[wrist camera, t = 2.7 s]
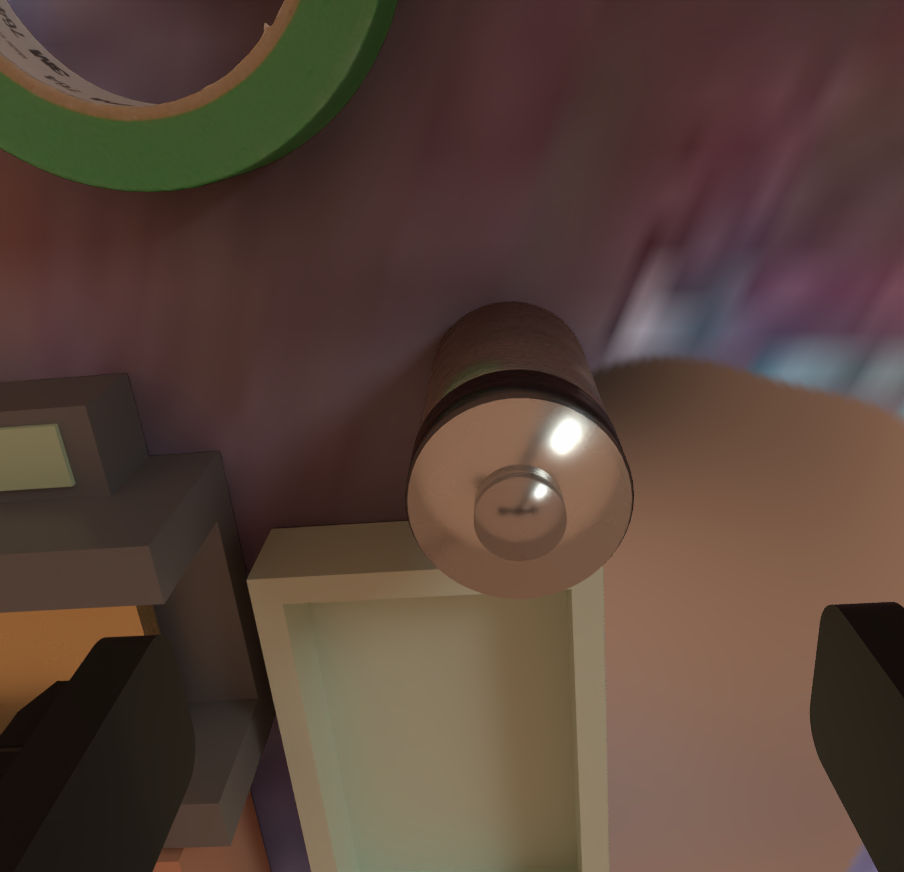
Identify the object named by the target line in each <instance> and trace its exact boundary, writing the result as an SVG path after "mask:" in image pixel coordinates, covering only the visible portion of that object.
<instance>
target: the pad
mask: <svg viewBox="0 0 904 872" xmlns="http://www.w3.org/2000/svg"><path fill="white" fill-rule="evenodd" d="M144 635H161V633H160V630H159V626H158V623H157V619H156V615H155V612H154V608H153V605H137V606H119V607H100V608H81V609H63V610H44V611H25V612H6V613H0V735H1V734H2V732H3V731H4V730H5V728H6V727H7V726H8V724H9V723H10V722H11V720H12V719H13V718H14V716H15V715H16V714H17V712H18V711H19V710H21V709H22V708H23V707H24V706H26V705H27V704H28V703H30V702H31V701H32V700H33V699H35V698H36V697H37V696H38V695H40V694H41V693H42V692H44V691H45V690H46V689H47V688H49V687H50V686H51V685H52V684H54V683H55V682H56V681H69V680H70V679H71V677H72V676H73V675H74V673H75V672H76V670H77V669H78V667H79V666H80V665H81V663H82V662H83V660H84V659H85V657H86V656H87V655H88V653H89V652H90V650H91V649H92V647H93V646H94V645H95V644H96V642H97V641H99V640H100V639H102V638H104V637H123V636H144Z"/></svg>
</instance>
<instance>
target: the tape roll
mask: <svg viewBox="0 0 904 872" xmlns="http://www.w3.org/2000/svg"><path fill="white" fill-rule="evenodd" d="M397 2H398V0H284V2H283V4H282V6H281V8H280V10H279V12H278V14H277V17H276V19H275V21H274V23H273V25H271V26H269V25H268V24H267V23H265V24H264V33H263V36H262V37H261V39H260V40H259V42H258V43H257V44H256V45H255V47H254V48H253V49H252V50H251V52H250V53H249V54H248V55H247V56H246V57H245V58H244V59H243V60H242V61H241V62H240V63H239V64H238V65H237V66H236V67H235V68H234V69H233V70H232V71H231V72H230V73H228V74H227V75H226V76H224V77H223V78H221V79H220V80H218V81H217V82H215V83H213V84H211V85H208V86H206V87H205V88H204V89H202V90H201V91H200V92H197V93H194V94H192V95H189V96H187V97H184V98H181V99H179V100H176V101H172V102H167V103H162V104H159V105H158V104H152V103H146V102H141V101H136V100H132V99H128V98H125V97H122V96H119V95H116V94H113V93H110V92H108V91H106V90H104V89H102V88H99V87H97V86H95V85H93V84H92V83H90V82H88V81H86V80H85V79H83V78H81V77H80V76H78V75H77V74H75V73H74V72H72V71H71V70H70V69H68V68H67V67H66V66H64V65H63V64H62V63H61V62H60V61H58V60H57V59H56V58H55V57H53V56H52V55H51V54H50V53H49V52H48V51H47V50H46V49H45V48H44V47H43V46H42V45H41V44H40V43H39V42H38V41H37V40H36V39H35V38H34V37H33V35H32V34H31V33H30V32H29V31H28V30H27V28H26V27H25V26H24V25H23V23H22V22H21V21H20V20H19V18H18V17H17V16H16V14H15V13H14V12H13V10H12V8H11V7H10V5H9V3H8V2H7V0H0V148H1V149H2V150H4V151H6V152H7V153H9V154H11V155H13V156H15V157H17V158H18V159H20V160H22V161H24V162H27V163H29V164H31V165H33V166H34V167H37V168H39V169H42V170H44V171H46V172H49V173H51V174H54V175H56V176H59V177H62V178H65V179H68V180H71V181H75V182H78V183H82V184H86V185H90V186H95V187H101V188H107V189H113V190H120V191H137V192H160V191H174V190H182V189H188V188H195V187H199V186H203V185H207V184H210V183H214V182H217V181H221V180H224V179H227V178H231V177H234V176H237V175H240V174H244V173H247V172H250V171H252V170H255V169H257V168H260V167H262V166H265V165H267V164H269V163H271V162H273V161H275V160H277V159H279V158H281V157H283V156H285V155H287V154H288V153H290V152H292V151H293V150H295V149H296V148H298V147H299V146H301V145H302V144H304V143H305V142H306V141H308V140H309V139H310V138H312V137H313V136H314V135H315V134H317V133H318V132H319V131H320V130H321V129H322V128H324V127H325V126H326V125H327V124H328V123H329V122H330V121H331V120H332V119H333V118H334V117H335V116H336V115H337V114H338V113H339V112H340V110H341V109H342V108H343V107H344V106H345V105H346V104H347V102H348V101H349V100H350V98H351V97H352V96H353V95H354V93H355V92H356V91H357V89H358V88H359V87H360V85H361V83H362V82H363V80H364V79H365V77H366V75H367V74H368V72H369V70H370V69H371V67H372V65H373V63H374V61H375V59H376V58H377V55H378V53H379V51H380V49H381V47H382V44H383V42H384V40H385V38H386V35H387V33H388V30H389V27H390V25H391V22H392V19H393V16H394V12H395V9H396V5H397Z"/></svg>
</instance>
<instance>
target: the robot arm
mask: <svg viewBox="0 0 904 872" xmlns="http://www.w3.org/2000/svg"><path fill="white" fill-rule="evenodd" d="M810 723H811V731H812V736H813V740H814V744H815V748H816V751H817V754H818V756H819V759H820V761H821V763H822V765H823V767H824V769H825V771H826V773H827V775H828V777H829V779H830V781H831V782H832V784H833V786H834V788H835V790H836V792H837V794H838V796H839V798H840V800H841V802H842V803H843V805H844V807H845V809H846V811H847V813H848V815H849V817H850V819H851V821H852V822H853V824H854V826H855V828H856V830H857V832H858V834H859V836H860V838H861V840H862V842H863V843H864V845H865V847H866V849H867V851H868V853H869V855H870V857H871V859H872V861H873V863H874V864H875V866H876V868H877V870H878V872H904V608H903V607H902V606H901V605H899V604H898V603H895V602H881V603H861V604H839V605H828V606H827V607H826V608H825V609H824V611H823V613H822V616H821V621H820V627H819V636H818V644H817V652H816V660H815V669H814V677H813V686H812V694H811V703H810ZM195 747H196V745H195V732H194V727H193V723H192V719H191V715H190V711H189V707H188V704H187V700H186V696H185V692H184V688H183V684H182V680H181V676H180V672H179V668H178V664H177V660H176V656H175V652H174V649H173V646H172V643H171V641H170V640H169V638H168V637H166V636H165V635H144V636H123V637H104V638H102V639H100V640H99V641H97V642H96V644H95V645H94V646H93V647H92V649H91V650H90V652H89V653H88V655H87V656H86V657H85V659H84V660H83V662H82V663H81V665H80V666H79V667H78V669H77V670H76V672H75V673H74V675H73V676H72V677H71V679H70V680H69V681H56V682H55V683H54V684H52V685H51V686H50V687H49V688H47V689H46V690H45V691H44V692H42V693H41V694H40V695H38V696H37V697H36V698H35V699H33V700H32V701H31V702H30V703H28V704H27V705H26V706H24V707H23V708H22V709H21V710H19V711H18V712H17V714H16V715H15V716H14V718H13V719H12V720H11V722H10V723H9V724H8V726H7V727H6V728H5V730H4V731H3V732H2V734H1V735H0V872H153V870H154V867H155V865H156V862H157V860H158V858H159V855H160V853H161V850H162V848H163V846H164V843H165V841H166V839H167V836H168V834H169V831H170V829H171V827H172V824H173V822H174V819H175V817H176V815H177V812H178V810H179V808H180V805H181V803H182V800H183V798H184V796H185V793H186V791H187V788H188V786H189V783H190V781H191V777H192V773H193V768H194V762H195Z"/></svg>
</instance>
